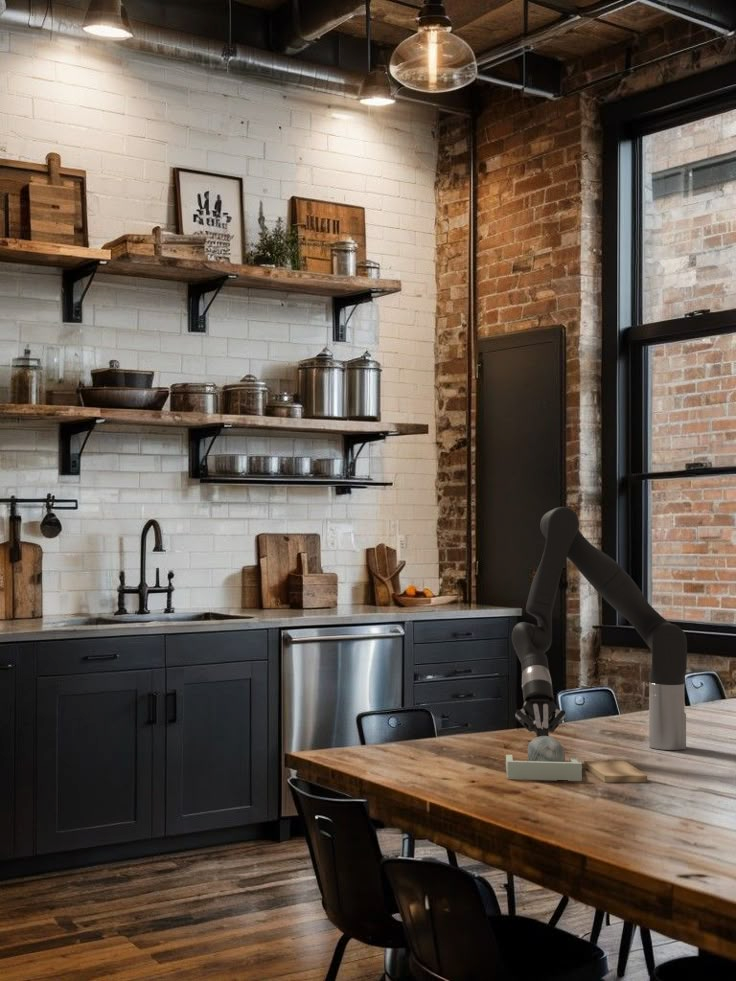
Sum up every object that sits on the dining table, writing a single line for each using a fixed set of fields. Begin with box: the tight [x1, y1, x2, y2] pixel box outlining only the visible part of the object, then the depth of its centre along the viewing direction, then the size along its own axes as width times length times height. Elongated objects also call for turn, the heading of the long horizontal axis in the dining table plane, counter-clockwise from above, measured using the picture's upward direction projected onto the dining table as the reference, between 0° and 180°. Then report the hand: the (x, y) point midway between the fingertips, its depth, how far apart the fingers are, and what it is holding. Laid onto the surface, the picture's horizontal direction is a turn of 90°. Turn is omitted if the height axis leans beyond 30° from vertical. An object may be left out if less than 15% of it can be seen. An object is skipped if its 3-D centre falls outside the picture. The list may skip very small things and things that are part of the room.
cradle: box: [505, 754, 583, 782], centre depth 288 cm, size 17×18×4 cm
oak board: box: [583, 760, 648, 783], centre depth 286 cm, size 10×18×2 cm, turn 5°
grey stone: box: [526, 735, 566, 762], centre depth 289 cm, size 14×10×10 cm
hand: (543, 743), depth 296 cm, fingers closed
